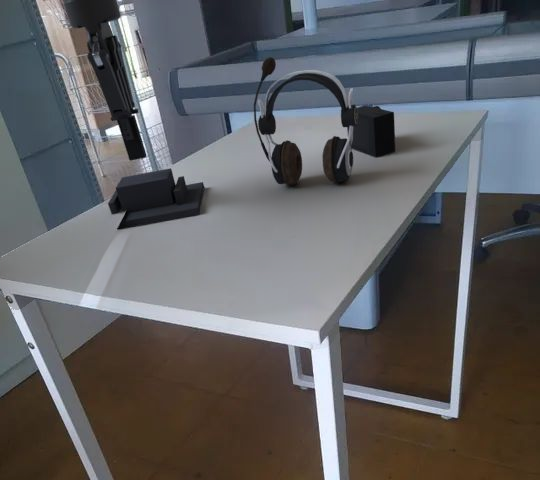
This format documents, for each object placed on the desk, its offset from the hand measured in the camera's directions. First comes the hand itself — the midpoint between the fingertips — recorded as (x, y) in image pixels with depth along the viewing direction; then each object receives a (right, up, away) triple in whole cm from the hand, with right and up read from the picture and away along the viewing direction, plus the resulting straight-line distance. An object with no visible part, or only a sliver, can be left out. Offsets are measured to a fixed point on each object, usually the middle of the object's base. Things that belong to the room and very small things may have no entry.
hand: (138, 157), depth 92 cm
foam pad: (+1, -6, +4) cm, 8 cm away
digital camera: (+42, +6, +12) cm, 44 cm away
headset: (+30, -4, +2) cm, 30 cm away
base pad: (+1, -7, +5) cm, 9 cm away
